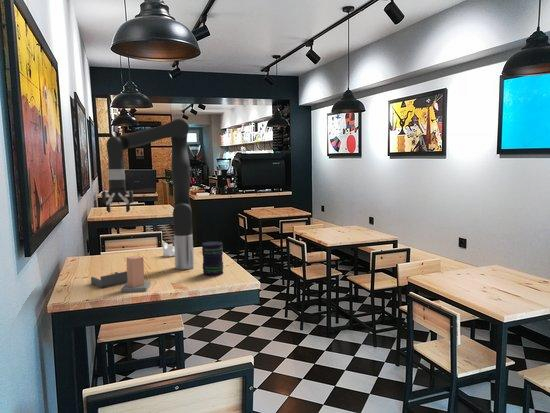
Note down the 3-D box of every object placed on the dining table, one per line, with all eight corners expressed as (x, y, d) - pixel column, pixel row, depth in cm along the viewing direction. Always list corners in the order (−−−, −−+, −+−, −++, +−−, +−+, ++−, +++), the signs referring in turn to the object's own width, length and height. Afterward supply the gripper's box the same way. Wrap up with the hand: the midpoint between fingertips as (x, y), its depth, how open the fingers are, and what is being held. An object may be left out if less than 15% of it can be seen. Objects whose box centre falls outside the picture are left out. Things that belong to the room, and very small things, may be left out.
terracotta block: (127, 285, 174) (126, 257, 173) (138, 282, 178) (137, 255, 177) (133, 287, 171) (132, 259, 170) (144, 284, 174) (143, 257, 173)
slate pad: (150, 284, 180) (150, 281, 180) (146, 291, 170) (146, 287, 170) (127, 285, 179) (126, 282, 179) (121, 292, 169) (121, 288, 169)
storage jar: (198, 274, 196) (197, 243, 195) (213, 270, 204) (212, 240, 203) (213, 277, 190) (212, 245, 189) (227, 273, 198) (227, 242, 197)
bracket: (168, 258, 235) (168, 245, 234) (163, 256, 240) (162, 243, 240) (188, 254, 244) (188, 242, 243) (183, 252, 249) (182, 240, 248)
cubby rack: (91, 283, 183) (90, 272, 182) (117, 278, 191) (116, 267, 191) (102, 288, 175) (101, 277, 175) (128, 282, 184) (127, 271, 183)
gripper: (99, 179, 193) (100, 213, 194) (130, 178, 194) (131, 212, 196) (103, 178, 200) (105, 211, 202) (133, 178, 202) (135, 211, 203)
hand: (118, 212), depth 199 cm, fingers open, 8 cm apart
